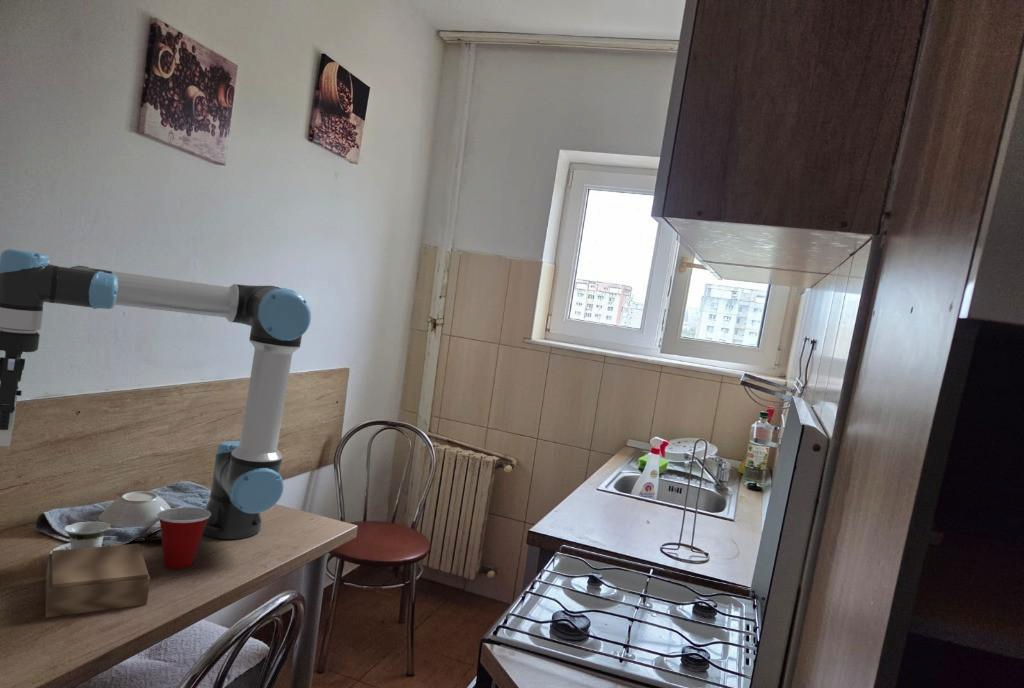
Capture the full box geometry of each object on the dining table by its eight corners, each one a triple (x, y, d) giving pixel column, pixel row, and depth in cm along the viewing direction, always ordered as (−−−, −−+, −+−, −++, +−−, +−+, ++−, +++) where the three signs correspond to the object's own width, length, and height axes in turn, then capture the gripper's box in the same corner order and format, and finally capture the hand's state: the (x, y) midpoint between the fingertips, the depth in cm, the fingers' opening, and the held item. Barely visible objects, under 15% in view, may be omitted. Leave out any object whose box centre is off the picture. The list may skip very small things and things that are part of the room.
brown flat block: (137, 569, 136) (141, 542, 136) (146, 604, 124) (150, 574, 123) (45, 578, 127) (49, 550, 126) (45, 617, 114) (49, 585, 114)
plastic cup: (194, 550, 150) (201, 501, 149) (211, 569, 142) (218, 517, 141) (143, 558, 142) (151, 506, 141) (158, 578, 134) (166, 523, 134)
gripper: (-5, 320, 130) (-17, 420, 132) (-14, 336, 110) (-28, 454, 112) (40, 324, 135) (28, 421, 136) (39, 340, 115) (25, 453, 116)
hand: (3, 436), depth 124 cm, fingers open, 13 cm apart
